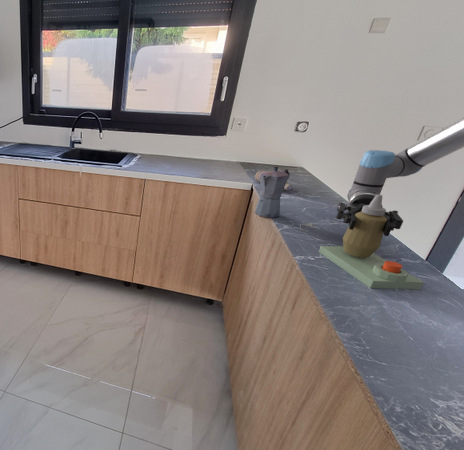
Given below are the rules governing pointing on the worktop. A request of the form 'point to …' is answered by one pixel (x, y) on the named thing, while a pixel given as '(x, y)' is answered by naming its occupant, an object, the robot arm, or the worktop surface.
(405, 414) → the worktop surface
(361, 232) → the squeeze bottle
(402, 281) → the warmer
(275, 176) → the moka pot
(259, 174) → the decorative bottle
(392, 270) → the switch
